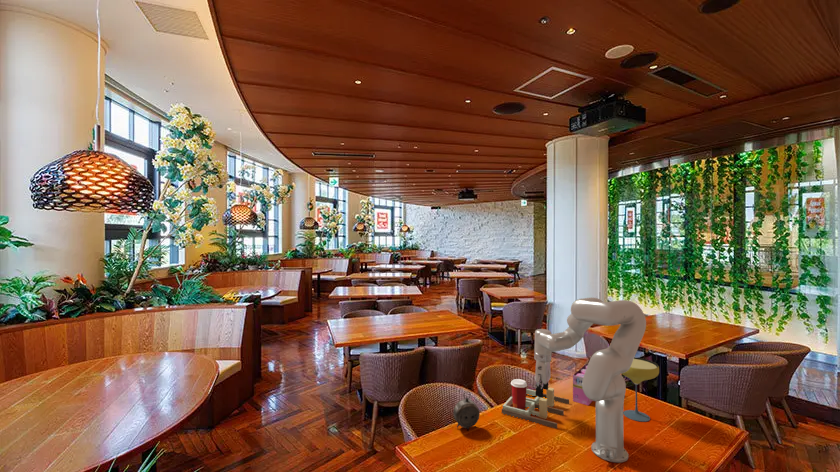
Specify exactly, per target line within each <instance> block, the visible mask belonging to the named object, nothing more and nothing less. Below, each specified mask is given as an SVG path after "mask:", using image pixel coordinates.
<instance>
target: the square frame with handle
mask: <svg viewBox="0 0 840 472" xmlns="http://www.w3.org/2000/svg"><path fill="white" fill-rule="evenodd" d="M545 391H546V393H545V394H546V398H547V407H551V408H554V405H555V401H554V396H555V388H554V387H549V386H548V390H546V389H545ZM526 394H529V395H532V396H536V389H535V390H533V389H529V388H527V390H526ZM532 396H531V397H532ZM540 398H541V397H534V399H533V398H530V397H526V400H527V401H531V402H535V404H539V399H540Z"/></svg>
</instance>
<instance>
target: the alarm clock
mask: <svg viewBox="0 0 840 472" xmlns="http://www.w3.org/2000/svg"><path fill="white" fill-rule="evenodd" d="M466 393H469V397H465V395H466ZM470 398H471V392H470V391H465V392H464V393H463V399H462V400H461V399H460V400H459V401H458V402H457V403H456V404H455V406H454V408H453V418H454V420H455V421H456V422H457V425H456V427H457V428H459V427H461V428H465V429H466V430H467V429H469V430H470V428H472V427H474V425H476V424H477V423H478V421H479V419H480V409H479V407H478V405H477V404H476V403H475V402H474V401H473V400H472V399H470Z"/></svg>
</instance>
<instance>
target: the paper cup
mask: <svg viewBox="0 0 840 472" xmlns="http://www.w3.org/2000/svg"><path fill="white" fill-rule="evenodd" d="M510 386H511V397H512V400H513V404H512V407H514V408H517V409H521V410H525V411H526V407H525V406H526V398H527V395H526V390H527V389H528V388H527V387H528V384H527V381H526V380H524V379H522V378H521V379H520V378H516V379H515V378H514V379H512V380H511V382H510Z"/></svg>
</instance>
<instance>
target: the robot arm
mask: <svg viewBox="0 0 840 472" xmlns="http://www.w3.org/2000/svg"><path fill="white" fill-rule="evenodd" d="M570 312H571V313H570V314H569V315H568V317H567V318H566V322H567V325H568V327H567V328H566V329H565V330H563V332H562V331H561V332H556V333H552V332H551V331H550V330H549V329H545V328H539V329H535V331H534V360H535V361H536V362H535V374H534V376H535V380H534V381H535V383H536V384H535V391H536V396H537V397H541V398H543V394H544V390H545V391H546V390H548V387H549V381H550V379H551V376H552V375H551V362H552V352H553V353H556V352H560V351H564V350H569V349H571V348H573V347H574V346H575V345H577V344H578V343H579V342H580V341H581V340H582V339H583V338H584V336H585V332H586V331H588V329H589V328H590V327H591V326H593V325H594V324H595V325H601V326H607V327H609V326H610V327H612V326H618V325H619V327H618V329H617V330H616V331H615V333H614V334H613V337H612V339H611V342H610V344H609V346H608V347H606V348H603V349H599V350H597V351H595V352H594V353H593V354H592V355H591V357H590V359H589V360H588V363H587V364H588V366H587V369H586V371H585V374H584V377H583V380H582V389H583V392H584V394H585V395H586V396H587V397H588V398H589V399H590V400H593V401H592V402H595V441H594V442H592V444H591V447H590V448H591V451H592V452H593V454H595V455H596V456H597V457H598V458H600V459H601V460H604V461H608V462H611V463H624V462H627V461H628V459H629V453H628V451H627V450H626V449H625V448H624V447H625V445H624V414H623V412H624V405H625V404H624V402H625V396H626V390H627V389H626V388H627V384H626V381H625V378H624V377H623V375H622V373H625V372H627V371H628V370H629V369H630V367H631V364H632V362H633V359H634V357H636V354H637V352H638V349H639V346H640V344H641V341H642V340H643V337H644V335H645V332H646V328H647V319H646V315H645V313H644V311H643V310H642V308H641V307H640V306H639V305H638V304H636V303H635V302H633V301H631V300H626V299H625V300H624V299H623V300H622V299H621V300H613V301H602V299H600V298H598V297H585V298H579V299H576V300H574V301H573V303H572V304H571V306H570Z"/></svg>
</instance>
